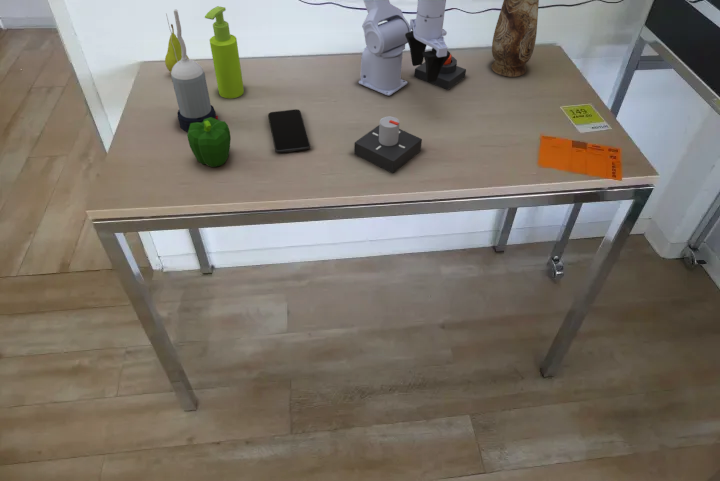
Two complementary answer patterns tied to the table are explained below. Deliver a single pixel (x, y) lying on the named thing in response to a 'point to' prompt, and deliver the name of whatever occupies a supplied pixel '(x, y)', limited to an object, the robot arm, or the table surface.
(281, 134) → the smartphone
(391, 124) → the dial
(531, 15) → the vase
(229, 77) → the soap dispenser
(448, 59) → the power button
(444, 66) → the button block
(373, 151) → the dial panel
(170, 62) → the fruit
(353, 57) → the table surface
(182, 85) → the humidifier
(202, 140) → the bell pepper
